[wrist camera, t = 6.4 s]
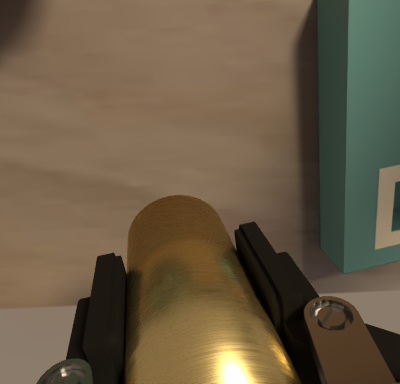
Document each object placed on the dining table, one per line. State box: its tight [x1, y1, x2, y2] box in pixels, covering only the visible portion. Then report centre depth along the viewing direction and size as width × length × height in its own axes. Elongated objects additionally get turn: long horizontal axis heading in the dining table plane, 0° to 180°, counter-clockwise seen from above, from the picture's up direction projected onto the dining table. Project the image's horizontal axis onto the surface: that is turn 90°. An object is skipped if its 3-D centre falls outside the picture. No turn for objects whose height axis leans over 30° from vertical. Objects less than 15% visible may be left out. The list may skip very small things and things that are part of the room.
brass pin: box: [124, 195, 302, 384], centre depth 11 cm, size 4×4×9 cm
